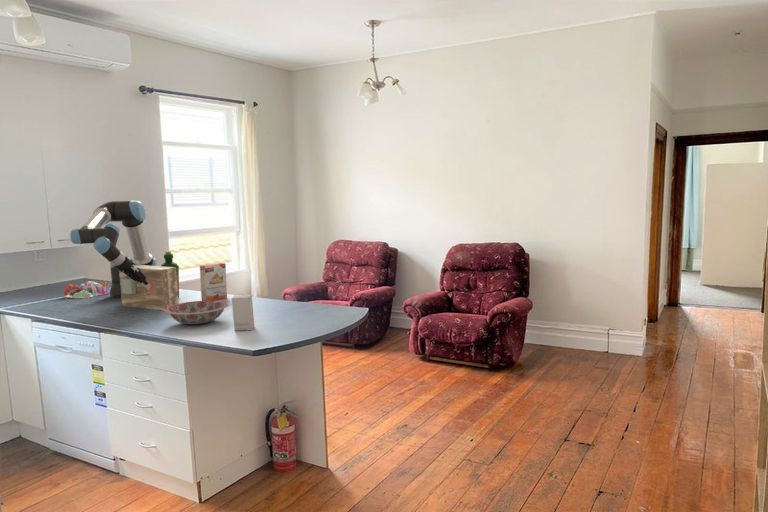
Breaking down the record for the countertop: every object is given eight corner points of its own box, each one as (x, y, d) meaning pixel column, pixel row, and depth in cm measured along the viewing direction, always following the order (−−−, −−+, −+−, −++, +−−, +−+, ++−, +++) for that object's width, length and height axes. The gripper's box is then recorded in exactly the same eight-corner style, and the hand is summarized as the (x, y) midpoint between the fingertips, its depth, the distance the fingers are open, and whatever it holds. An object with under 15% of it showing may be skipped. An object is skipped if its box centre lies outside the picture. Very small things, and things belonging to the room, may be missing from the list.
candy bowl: (81, 292, 370) (80, 278, 369) (117, 291, 369) (116, 277, 368) (58, 299, 345) (57, 284, 344) (96, 299, 344) (95, 284, 343)
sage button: (131, 294, 311) (130, 279, 310) (122, 293, 315) (120, 279, 314) (136, 293, 314) (135, 278, 313) (126, 292, 318) (125, 278, 317)
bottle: (177, 299, 333) (173, 252, 330) (159, 300, 334) (155, 253, 330) (183, 296, 344) (180, 250, 341) (166, 296, 344) (162, 250, 341)
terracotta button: (156, 295, 307) (155, 280, 306) (146, 294, 310) (145, 279, 309) (161, 294, 309) (160, 279, 308) (151, 293, 313) (150, 278, 312)
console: (164, 310, 305) (161, 270, 302) (122, 305, 321) (118, 267, 318) (178, 306, 314) (175, 267, 311) (137, 302, 330) (134, 264, 327)
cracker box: (207, 302, 324) (204, 266, 321) (201, 301, 328) (198, 265, 325) (228, 298, 335) (225, 263, 332) (221, 297, 339) (219, 262, 336)
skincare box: (254, 327, 264) (252, 294, 262) (252, 330, 257) (250, 297, 255) (236, 327, 263) (234, 294, 261) (233, 331, 257) (231, 297, 255)
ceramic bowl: (193, 314, 294) (192, 299, 293) (241, 317, 284) (240, 302, 282) (152, 328, 267) (150, 311, 266) (202, 332, 257) (201, 315, 256)
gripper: (107, 266, 291) (137, 292, 308) (124, 267, 285) (154, 294, 302) (115, 254, 295) (144, 281, 312) (132, 255, 289) (161, 282, 306)
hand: (149, 287), depth 307 cm, fingers closed
